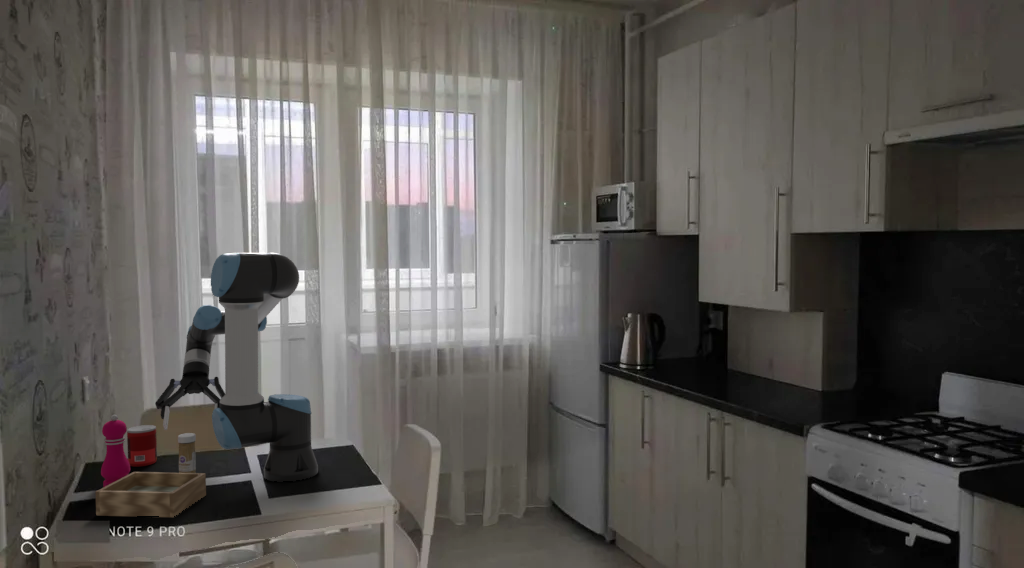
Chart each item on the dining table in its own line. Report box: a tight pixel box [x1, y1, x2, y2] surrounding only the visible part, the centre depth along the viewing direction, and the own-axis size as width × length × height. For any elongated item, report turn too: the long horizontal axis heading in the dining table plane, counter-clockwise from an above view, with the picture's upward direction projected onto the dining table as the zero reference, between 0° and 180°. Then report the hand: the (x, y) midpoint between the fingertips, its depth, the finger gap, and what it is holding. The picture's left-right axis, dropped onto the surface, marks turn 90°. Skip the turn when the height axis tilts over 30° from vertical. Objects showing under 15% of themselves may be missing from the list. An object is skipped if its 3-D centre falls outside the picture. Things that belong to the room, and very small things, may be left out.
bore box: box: [95, 471, 207, 518], centre depth 187 cm, size 20×16×6 cm
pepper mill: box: [100, 414, 131, 488], centre depth 202 cm, size 7×7×20 cm
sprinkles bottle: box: [177, 432, 197, 473], centre depth 206 cm, size 5×5×14 cm
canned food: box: [126, 424, 158, 468], centre depth 224 cm, size 8×8×11 cm
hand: (190, 426), depth 214 cm, fingers open, 13 cm apart
